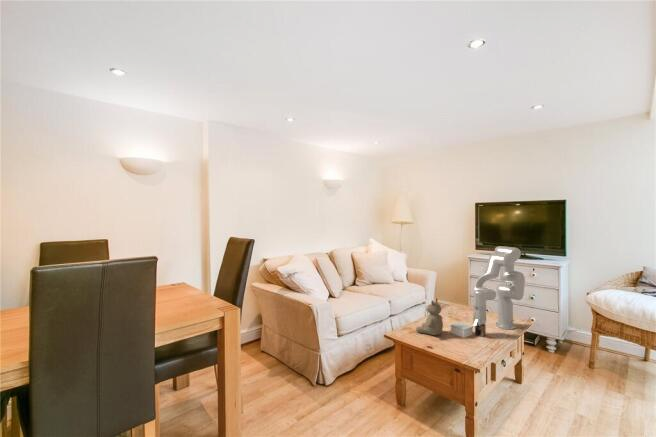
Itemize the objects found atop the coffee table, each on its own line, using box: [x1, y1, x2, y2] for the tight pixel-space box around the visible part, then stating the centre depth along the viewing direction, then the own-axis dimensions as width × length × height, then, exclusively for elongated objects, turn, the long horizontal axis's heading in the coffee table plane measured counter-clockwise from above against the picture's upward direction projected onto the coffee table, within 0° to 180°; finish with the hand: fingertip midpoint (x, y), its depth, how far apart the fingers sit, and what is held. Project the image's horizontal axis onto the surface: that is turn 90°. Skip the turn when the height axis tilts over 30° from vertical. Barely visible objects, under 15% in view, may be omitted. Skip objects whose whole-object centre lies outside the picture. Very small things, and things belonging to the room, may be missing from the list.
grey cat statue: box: [415, 297, 444, 336], centre depth 214 cm, size 21×16×25 cm
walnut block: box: [474, 324, 487, 337], centre depth 209 cm, size 5×5×7 cm
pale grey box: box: [449, 321, 474, 339], centre depth 211 cm, size 11×11×6 cm
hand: (480, 333), depth 209 cm, fingers closed on walnut block, 5 cm apart
